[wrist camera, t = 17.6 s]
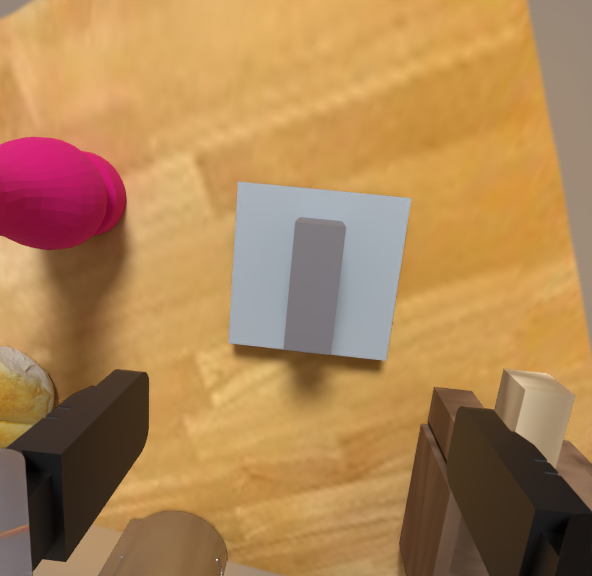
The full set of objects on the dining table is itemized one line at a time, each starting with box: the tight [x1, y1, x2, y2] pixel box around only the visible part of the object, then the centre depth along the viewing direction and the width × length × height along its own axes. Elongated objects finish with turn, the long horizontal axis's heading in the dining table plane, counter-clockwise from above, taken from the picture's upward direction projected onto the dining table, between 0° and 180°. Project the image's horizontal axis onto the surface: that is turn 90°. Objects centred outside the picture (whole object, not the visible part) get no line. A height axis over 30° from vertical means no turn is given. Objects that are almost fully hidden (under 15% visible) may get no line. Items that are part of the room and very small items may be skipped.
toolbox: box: [400, 387, 592, 576], centre depth 30 cm, size 12×15×9 cm
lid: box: [229, 182, 411, 361], centre depth 28 cm, size 12×12×7 cm
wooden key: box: [494, 369, 575, 468], centre depth 22 cm, size 2×6×2 cm, turn 175°
